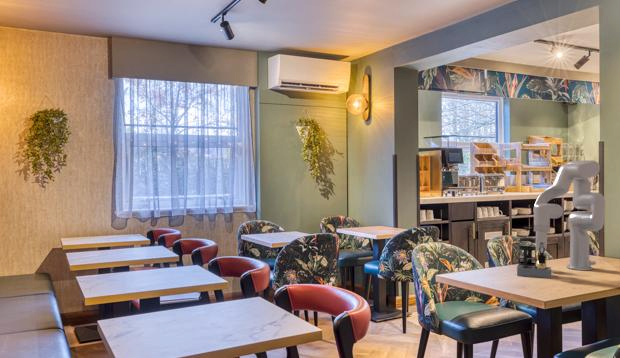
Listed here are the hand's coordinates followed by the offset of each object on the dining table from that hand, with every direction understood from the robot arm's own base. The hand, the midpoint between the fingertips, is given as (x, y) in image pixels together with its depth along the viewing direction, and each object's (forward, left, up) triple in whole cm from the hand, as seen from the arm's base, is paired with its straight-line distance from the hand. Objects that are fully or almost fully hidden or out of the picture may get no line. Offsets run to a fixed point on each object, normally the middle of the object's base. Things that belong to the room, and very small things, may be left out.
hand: (541, 261), depth 267 cm
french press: (-7, -19, -7) cm, 22 cm away
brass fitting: (0, 0, -7) cm, 7 cm away
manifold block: (+3, -2, -7) cm, 8 cm away
